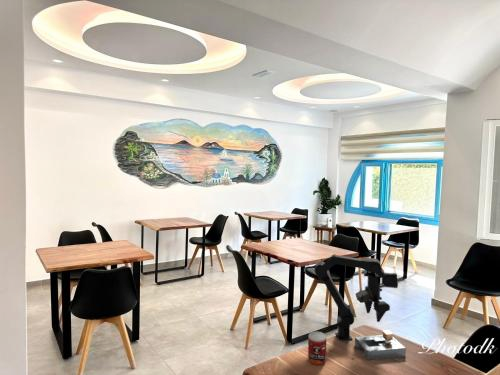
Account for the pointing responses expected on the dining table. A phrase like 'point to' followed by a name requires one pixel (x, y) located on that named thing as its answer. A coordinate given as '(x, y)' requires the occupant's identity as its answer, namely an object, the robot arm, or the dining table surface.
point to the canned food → (317, 348)
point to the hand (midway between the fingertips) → (373, 317)
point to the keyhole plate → (380, 347)
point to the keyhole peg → (387, 336)
